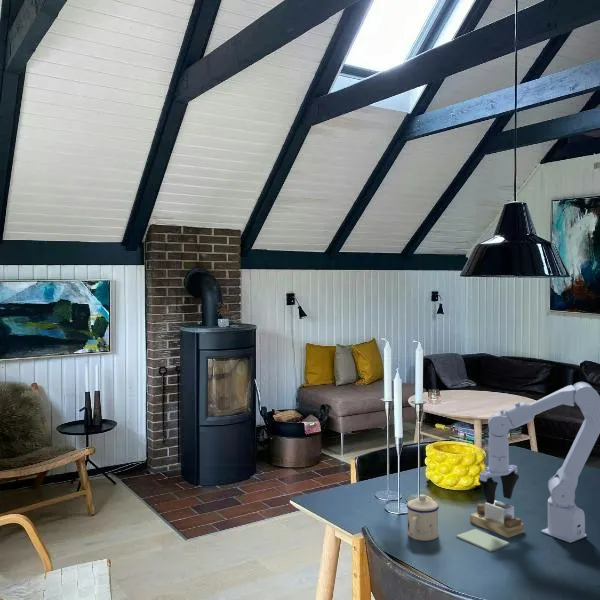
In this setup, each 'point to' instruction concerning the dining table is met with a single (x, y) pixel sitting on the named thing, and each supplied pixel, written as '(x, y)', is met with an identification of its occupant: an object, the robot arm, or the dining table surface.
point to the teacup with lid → (422, 518)
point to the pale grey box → (499, 512)
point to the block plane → (507, 530)
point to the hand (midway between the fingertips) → (498, 500)
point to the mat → (482, 540)
